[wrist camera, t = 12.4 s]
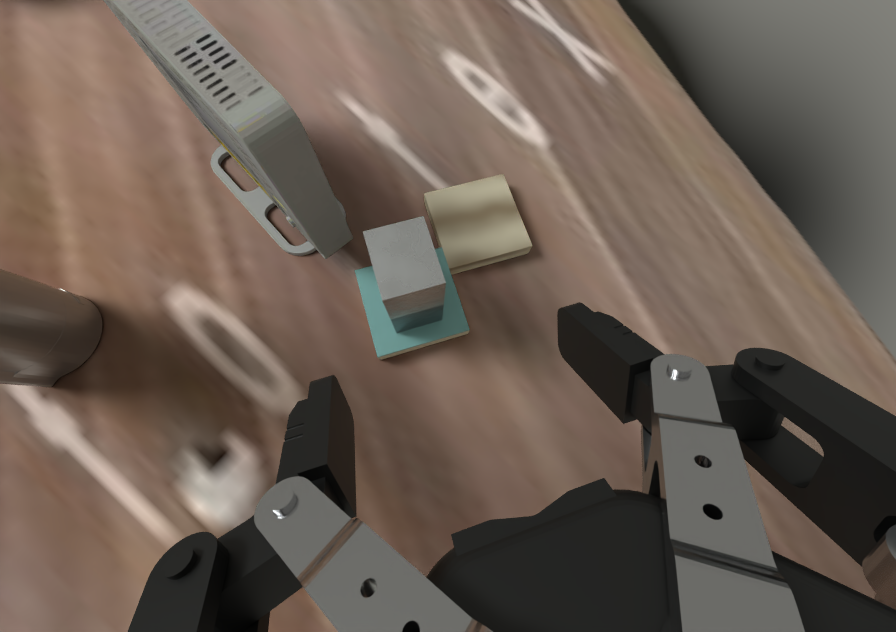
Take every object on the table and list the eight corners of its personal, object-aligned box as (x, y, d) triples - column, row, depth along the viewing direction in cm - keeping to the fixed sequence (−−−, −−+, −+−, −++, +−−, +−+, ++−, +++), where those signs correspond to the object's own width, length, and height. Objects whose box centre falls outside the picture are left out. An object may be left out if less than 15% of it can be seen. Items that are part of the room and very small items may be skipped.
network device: (374, 239, 42) (324, 90, 23) (314, 285, 40) (206, 166, 21) (248, 108, 46) (117, -110, 27) (189, 144, 45) (4, -62, 25)
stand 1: (467, 333, 39) (469, 329, 37) (380, 360, 38) (377, 357, 36) (441, 254, 42) (441, 247, 40) (358, 277, 41) (354, 270, 39)
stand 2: (527, 253, 42) (532, 245, 40) (448, 275, 41) (449, 268, 39) (500, 184, 45) (503, 173, 43) (424, 203, 44) (423, 193, 42)
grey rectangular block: (442, 319, 38) (445, 282, 27) (396, 333, 37) (382, 300, 26) (426, 269, 39) (423, 215, 28) (382, 282, 38) (362, 231, 28)
